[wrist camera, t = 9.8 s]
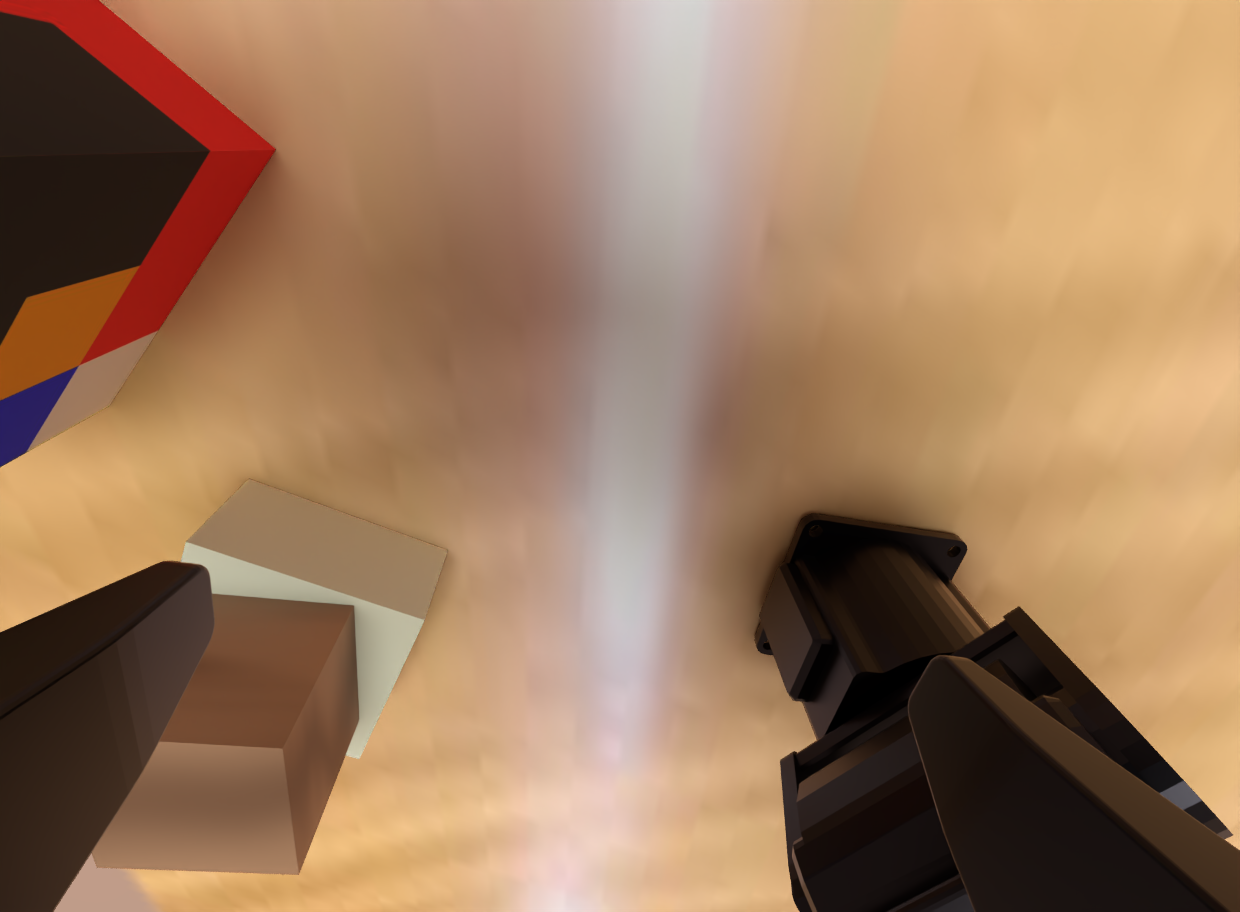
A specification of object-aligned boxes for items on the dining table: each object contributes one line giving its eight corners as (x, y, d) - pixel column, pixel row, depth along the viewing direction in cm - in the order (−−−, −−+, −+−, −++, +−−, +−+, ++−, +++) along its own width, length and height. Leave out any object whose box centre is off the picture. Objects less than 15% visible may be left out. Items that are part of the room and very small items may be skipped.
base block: (449, 545, 23) (424, 620, 19) (390, 672, 26) (359, 759, 22) (252, 474, 21) (186, 541, 18) (211, 618, 24) (146, 703, 20)
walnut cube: (359, 719, 21) (298, 874, 17) (202, 710, 20) (96, 867, 16) (354, 605, 19) (282, 748, 14) (179, 590, 18) (48, 735, 14)
